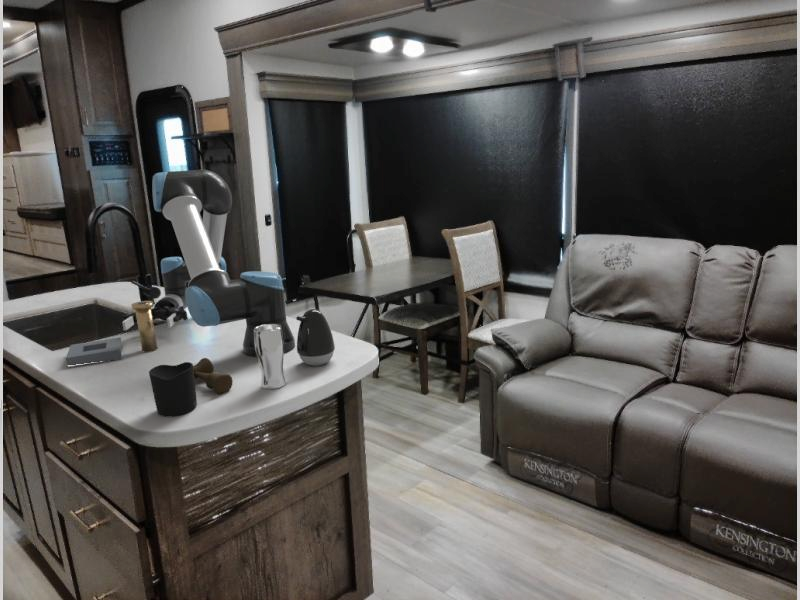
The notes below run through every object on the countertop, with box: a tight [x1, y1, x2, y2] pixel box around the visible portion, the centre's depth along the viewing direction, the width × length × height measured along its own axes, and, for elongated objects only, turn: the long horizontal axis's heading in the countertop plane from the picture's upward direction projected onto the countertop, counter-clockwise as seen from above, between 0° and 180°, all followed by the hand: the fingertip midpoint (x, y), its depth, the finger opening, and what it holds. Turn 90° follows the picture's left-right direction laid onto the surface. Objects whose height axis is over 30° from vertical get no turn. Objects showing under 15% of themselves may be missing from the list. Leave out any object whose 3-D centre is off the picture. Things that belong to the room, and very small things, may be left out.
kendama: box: [193, 357, 234, 395], centre depth 149 cm, size 6×10×20 cm
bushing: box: [131, 300, 158, 353], centre depth 180 cm, size 6×6×15 cm
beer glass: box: [254, 324, 287, 390], centre depth 146 cm, size 7×7×15 cm
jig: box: [65, 336, 123, 366], centre depth 177 cm, size 14×14×3 cm
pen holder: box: [148, 361, 198, 417], centre depth 135 cm, size 9×9×10 cm
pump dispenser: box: [296, 308, 336, 367], centre depth 160 cm, size 10×10×15 cm
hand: (146, 324), depth 182 cm, fingers open, 13 cm apart
